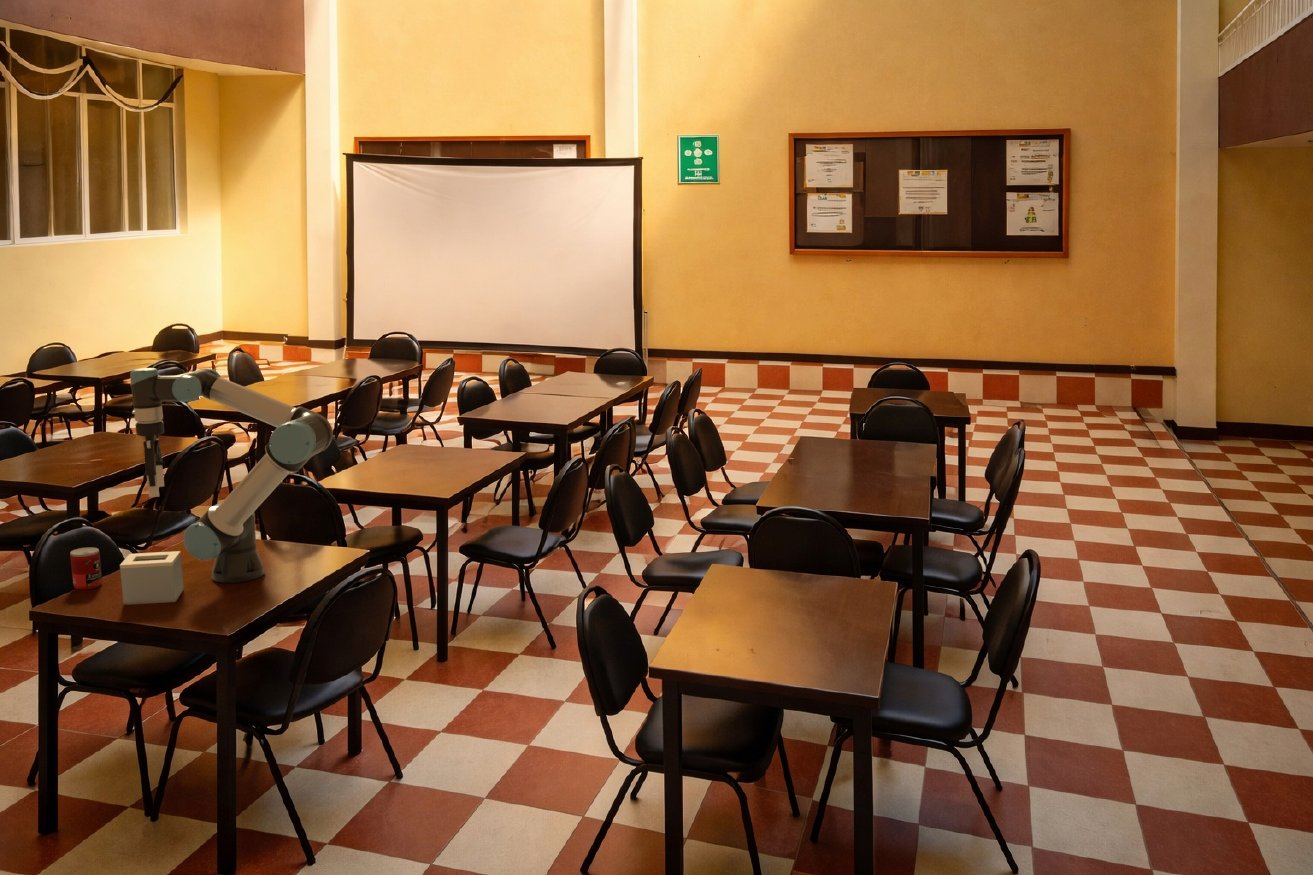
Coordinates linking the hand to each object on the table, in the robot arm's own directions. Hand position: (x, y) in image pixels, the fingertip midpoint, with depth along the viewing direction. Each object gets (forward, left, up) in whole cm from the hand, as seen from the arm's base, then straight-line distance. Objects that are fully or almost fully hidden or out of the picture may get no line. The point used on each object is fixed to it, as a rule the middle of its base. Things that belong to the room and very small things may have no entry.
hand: (156, 491), depth 324 cm
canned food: (+23, -6, -30) cm, 38 cm away
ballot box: (+1, +9, -30) cm, 31 cm away
